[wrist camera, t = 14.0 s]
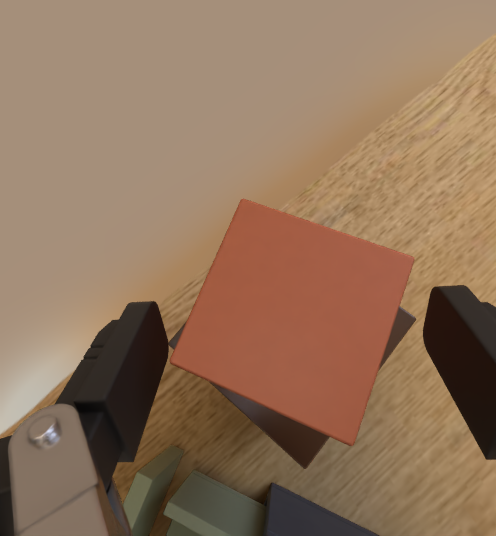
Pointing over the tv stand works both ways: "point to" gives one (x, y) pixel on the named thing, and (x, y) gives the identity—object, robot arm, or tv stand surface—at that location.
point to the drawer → (190, 503)
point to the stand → (292, 432)
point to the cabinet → (304, 517)
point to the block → (295, 318)
